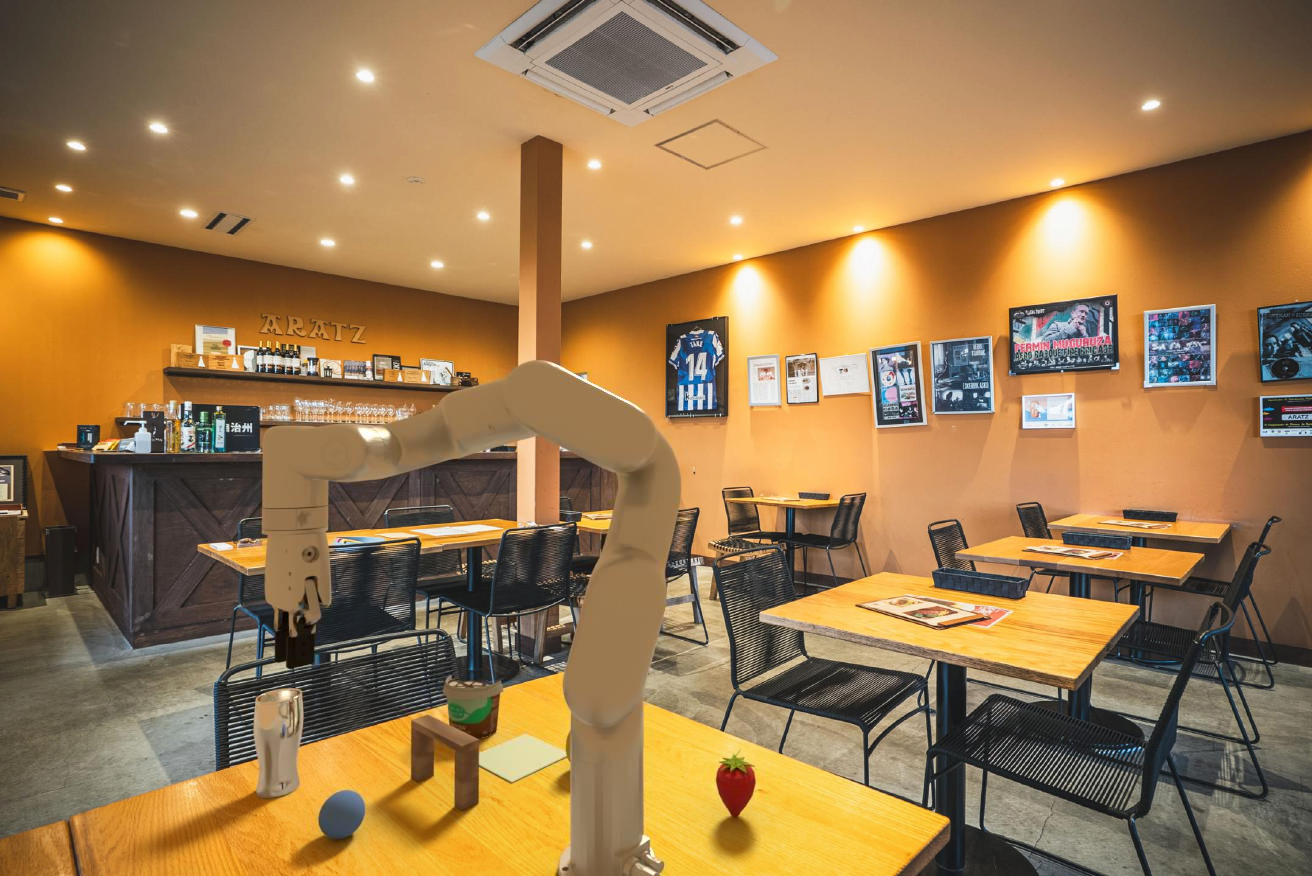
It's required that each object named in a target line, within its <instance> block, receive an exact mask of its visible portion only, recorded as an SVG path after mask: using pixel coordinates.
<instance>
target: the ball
mask: <svg viewBox="0 0 1312 876" xmlns="http://www.w3.org/2000/svg"><path fill="white" fill-rule="evenodd" d="M365 815H366V804H365V801H364V798H363V796H361V794H359V793H358V792H357V791H354V790H352V789H351V790H350V789H343V790H339V791H336V792H335V793H333V794H331V795H330V796H328V798H326V800H325V801H324V802H323V804H322V805H321V807H320V810H319V812H318V819H317V820H318V827H319V829H320V831H321V832H322V833H323V835H325V836H326V837H327V838H330V839H332V840H340V839H344V838H347V837H349V836H350V835H352V834H354V833H355V832H356V831H357V830H358V829H359V828H360V826H361V825H362V823H363V821H364V820H365Z"/></svg>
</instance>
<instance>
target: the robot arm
mask: <svg viewBox="0 0 1312 876" xmlns="http://www.w3.org/2000/svg"><path fill="white" fill-rule="evenodd" d="M538 436H539V437H541V438H542V439H545V440H547V441H549V442H551V443H553V444H555V445H556V446H558V447H561V448H562V449H564V450H566V451H568V452H570V453H573V454H574V455H577V456H578V457H581V458H583V459H584V460H586V461H588V462H589V463H592V464H594V465H596V466H598V467H600V468H602V469H603V470H606V471H609V472H612V473H615V475H616V477H617V487H618V488H617V492H616V498H615V501H614V505H613V509H612V513H611V518H610V523H609V526H608V530H607V533H606V537H605V541H604V544H603V547H602V551H601V553H600V556H599V558H598V560H597V562H596V563H595V565H594V568H593V570H592V572H591V574H590V577H589V579H588V580H589V581H588V583H587V586H586V591H585V593H584V598H583V600H582V601H583V602H582V604H581V609H580V614H579V615H578V619H577V624H576V628H575V632H574V634H573V639H572V643H571V646H570V650H569V654H568V659H567V661H566V665H565V669H564V671H563V676H562V693H563V698H564V700H565V703H566V705H567V707H568V709H569V711H570V730H571V749H570V762H569V763H570V764H569V765H570V767H569V768H570V769H569V771H570V773H569V775H570V777H569V778H570V782H569V783H570V799H569V800H570V803H569V806H570V816H569V817H570V819H569V820H570V822H569V823H570V824H569V825H570V827H569V828H570V830H569V831H570V833H569V834H570V838H569V839H570V844H569V845H568V846H567V847H566V848H565V849H564V850H563V851H562V853H561V854H560V857H559V860H558V867H557V869H558V876H661V875H660V874H661V873H662V872H663V871H664V867H665V862H664V861H663V860H661V859H660V858H658V857H656V854H655V851H654V850H653V848H652V846H651V838H650V837H648V836H647V835H645V834H644V832H645V830H644V829H645V828H644V827H645V825H644V824H645V823H644V821H645V820H644V819H645V818H644V817H645V814H644V812H645V810H644V809H645V808H644V806H645V805H644V803H645V802H644V797H645V795H644V794H645V793H644V792H645V791H644V789H645V788H644V782H645V781H644V742H645V741H644V739H645V737H644V736H645V735H644V733H645V730H644V729H645V728H644V727H645V725H644V721H645V720H644V710H645V709H644V690H645V687H646V683H647V680H648V677H649V672H650V670H651V669H650V668H651V666H652V661H653V658H654V655H655V651H656V646H657V643H658V641H659V640H658V638H659V635H660V631H661V627H662V623H663V620H664V615H665V611H666V604H667V598H668V588H667V582H666V581H667V580H666V568H667V562H668V558H669V554H670V550H671V546H672V542H673V537H674V532H675V529H676V523H677V519H678V514H679V510H680V504H681V498H682V497H681V496H682V478H681V470H680V466H679V463H678V459H677V456H676V454H675V451H674V450H673V448H672V446H671V444H670V443H669V441H668V439H667V438H666V437H665V436H664V434H663V433H662V432H661V431H660V430H659V429H658V428H657V427H656V425H655V423H654V421H653V420H652V418H651V417H650V415H649V414H647V412H645V410H643V409H642V408H640V406H637V405H635V404H633V403H632V402H630V401H628V400H625V399H623V398H621V397H620V396H617V395H615V394H613V393H611V392H610V391H607V390H605V389H603V388H602V387H600V386H598V385H596V384H593V383H591V382H590V381H588V380H587V379H583V378H582V377H580V376H578V375H576V374H574V373H573V372H571V371H569V370H567V369H565V368H564V367H562V366H560V365H558V364H556V363H554V362H551V361H547V360H544V359H543V360H542V359H541V360H540V359H534V360H528V361H526V362H525V361H524V362H523V363H521V364H520V365H519V364H518V365H517V366H516V367H515V368H513V369H512V371H510V372H509V374H508V375H507V376H506V377H504V378H500V379H496V380H492V381H490V382H485V383H482V384H477V385H475V386H471V387H467V388H462V389H460V390H459V389H458V390H455V391H451V392H450V393H448V394H446V395H445V396H443V397H442V398H441V400H440V401H439V402H438V403H437V404H436V405H435V406H434V407H432V408H431V409H429V410H426V411H424V412H422V413H418V414H415V415H413V416H409V417H405V418H402V419H400V420H399V419H398V420H395V421H392V422H387V423H382V424H379V425H371V424H360V423H349V422H348V423H347V422H346V423H345V422H344V423H336V424H328V425H321V426H313V425H275V426H270V427H269V428H268V429H266V430H265V432H264V434H263V437H262V438H263V439H262V480H261V482H262V484H261V485H262V491H261V492H262V495H261V496H262V499H261V501H262V502H261V503H262V505H261V507H262V509H261V534H262V535H265V536H267V539H266V541H267V542H266V549H265V551H266V552H265V562H264V563H265V564H264V565H265V566H264V567H265V568H264V597H265V601H266V602H267V604H268V605H271V607H272V608H273V615H274V621H273V629H274V630H275V631H274V662H276V663H278V664H280V663H284V662H285V667H286V669H288V670H293V669H297V668H300V667H306V666H309V665H313V664H314V663H315V639H316V638H315V634H316V631H317V630H316V629H317V628H316V623H317V622H318V621H319V620H320V619H321V618H322V613H321V612H322V611H321V608H322V609H325V608H329V607H330V605H331V604H332V581H331V579H332V578H331V577H332V576H331V573H332V572H331V562H330V561H331V559H330V558H331V557H330V548H329V542H328V537H327V531H328V530H329V482H336V483H337V482H338V483H351V482H352V483H353V482H362V481H363V482H364V481H374V480H382V479H386V478H389V477H393V476H398V475H400V474H401V475H402V474H404V473H408V472H412V471H415V470H418V469H423V468H426V467H429V466H432V465H435V464H439V463H442V462H443V463H444V462H446V461H449V460H450V461H451V460H453V459H454V460H455V459H461V458H464V457H467V456H471V455H473V454H477V453H481V452H484V451H488V450H492V449H495V448H497V447H502V446H506V445H508V444H512V443H516V442H520V441H525V440H528V439H531V438H535V437H538ZM302 606H304V608H303V609H301V607H302Z"/></svg>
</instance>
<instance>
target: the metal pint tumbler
mask: <svg viewBox="0 0 1312 876" xmlns="http://www.w3.org/2000/svg"><path fill="white" fill-rule="evenodd" d="M303 702H304V701H303V691H302V689H300V688H292V687H290V688H289V687H288V688H279V689H274V690H270V691H266V692H264V693H262V694H260V695H258V696H256V698H255V705H254V713H253V714H254V715H253V740H254V746H255V751H256V756H257V760H258V770H259V771H258V772H259V773H258V780H257V785H256V788H255V789H256V790H255V795H256V796H257V797H258V798H260V799H264V798H267V799H268V798H270V799H276V798H280V797H281V798H282V797H284V796H287V795H289V794H291V793H293V792H295V791H296V790H297V789H298V788H299V787H300V783H301V782H300V776H299V772H298V755H299V750H300V747H301V740H302V735H303V727H304V703H303Z"/></svg>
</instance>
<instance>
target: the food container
mask: <svg viewBox="0 0 1312 876" xmlns="http://www.w3.org/2000/svg"><path fill="white" fill-rule="evenodd" d="M503 692H504V685H503V683H502V680H499V681H497V682H494V683H492V684H491V683H486V682H482V681H478V680H456V679H453V678H452V674H450V675H449V676H448V677H446V680H445V682H444V684H443V690H442V693H443V695H444V696H445V697H446V701H447V702H446V703H447V712H448V714H447V715H448V725H450V726H452V727H454V728H456V729H458V730H461V731H463V732H465V733H467V734H469V735H471V736H473V737H475V738H477V739H479V740H480V739H483V738H482V737H485V738H487V737H486V736H488V737H490V736H491V735H490V734H492V735H494V734H496V733H497V732H496V731H497V730H498V721H499V720H498V719H499V711H500V700H501V693H503ZM495 732H496V733H495ZM493 733H494V734H493ZM489 735H490V736H489Z"/></svg>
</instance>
